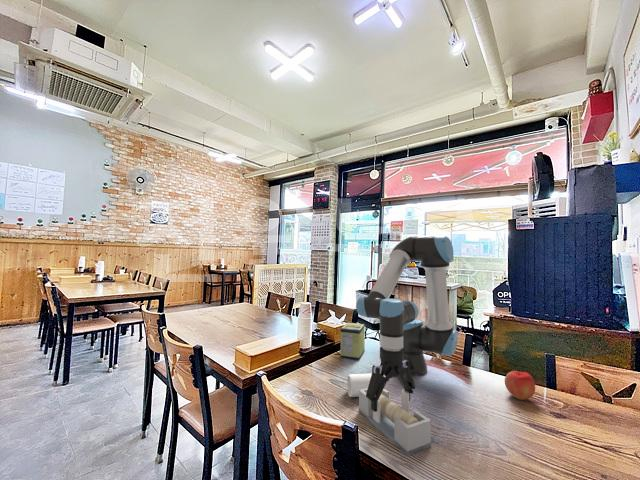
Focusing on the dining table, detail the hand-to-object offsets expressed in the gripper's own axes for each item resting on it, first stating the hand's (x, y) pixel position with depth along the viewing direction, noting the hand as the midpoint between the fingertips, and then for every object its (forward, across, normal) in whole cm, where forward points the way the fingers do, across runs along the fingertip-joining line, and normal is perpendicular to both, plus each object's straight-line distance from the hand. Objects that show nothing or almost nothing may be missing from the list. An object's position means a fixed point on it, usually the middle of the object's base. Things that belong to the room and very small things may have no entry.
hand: (391, 416), depth 91 cm
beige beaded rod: (-2, 0, 0) cm, 2 cm away
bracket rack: (+4, 0, 0) cm, 4 cm away
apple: (+4, -58, +7) cm, 59 cm away
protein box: (+4, -24, -60) cm, 65 cm away
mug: (+4, -4, -23) cm, 24 cm away
